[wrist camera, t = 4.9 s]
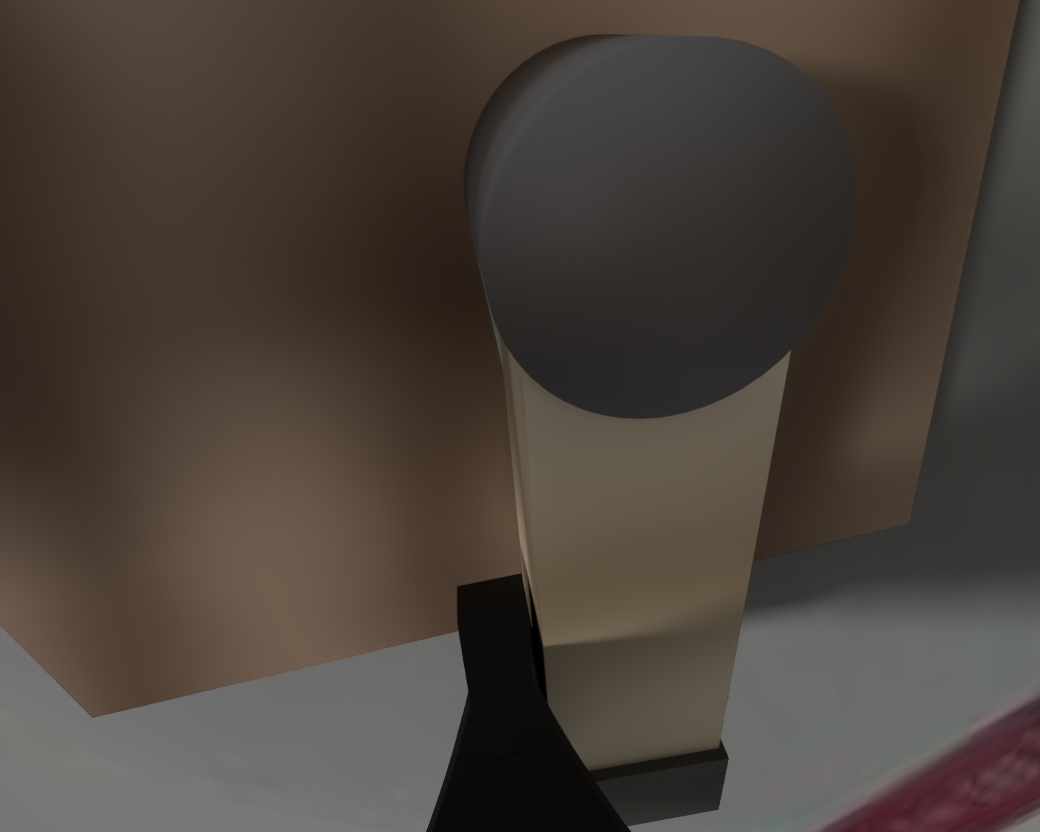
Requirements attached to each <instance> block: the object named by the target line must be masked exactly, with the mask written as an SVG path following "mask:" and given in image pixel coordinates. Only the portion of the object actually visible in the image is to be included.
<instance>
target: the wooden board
mask: <svg viewBox="0 0 1040 832" xmlns="http://www.w3.org/2000/svg"><path fill="white" fill-rule="evenodd" d="M1019 1H1020V0H0V626H1V627H2V628H3V629H4V630H5V631H6V632H7V633H8V634H9V635H10V636H11V637H12V638H13V639H14V640H15V641H16V642H17V643H18V644H19V645H20V646H21V647H22V648H23V649H24V650H25V651H26V652H27V653H28V654H29V655H30V656H31V657H32V658H33V659H34V660H35V661H36V662H37V663H38V664H39V665H40V666H41V667H42V668H43V669H44V670H45V671H46V672H47V673H48V674H49V675H50V676H51V677H52V678H53V679H54V680H55V681H56V682H57V683H58V684H59V685H60V686H61V687H62V688H63V689H64V690H65V691H66V692H67V693H68V694H69V695H70V696H71V697H72V698H73V699H74V700H75V701H76V702H77V703H78V704H79V705H80V706H81V707H82V708H83V709H84V710H85V711H86V712H87V713H88V714H89V715H90V716H91V717H92V718H94V717H98V716H103V715H107V714H111V713H115V712H119V711H124V710H128V709H132V708H136V707H140V706H145V705H149V704H153V703H157V702H161V701H166V700H170V699H174V698H178V697H183V696H187V695H191V694H195V693H199V692H204V691H208V690H212V689H216V688H220V687H225V686H229V685H233V684H237V683H241V682H246V681H250V680H254V679H258V678H262V677H267V676H271V675H275V674H279V673H283V672H288V671H292V670H296V669H300V668H304V667H309V666H313V665H317V664H321V663H325V662H330V661H334V660H338V659H342V658H346V657H351V656H355V655H359V654H363V653H367V652H372V651H376V650H380V649H384V648H389V647H393V646H397V645H401V644H405V643H410V642H414V641H418V640H422V639H426V638H431V637H435V636H439V635H443V634H447V633H452V632H456V631H458V624H457V586H460V585H465V584H470V583H475V582H480V581H485V580H490V579H495V578H500V577H505V576H510V575H515V574H520V573H522V578H523V570H522V560H521V550H520V539H519V529H518V519H517V508H516V498H515V488H514V477H513V467H512V456H511V446H510V436H509V425H508V415H507V405H506V394H505V384H504V374H503V363H502V353H501V343H500V333H499V331H498V329H497V327H496V325H495V322H494V319H493V316H492V312H491V309H490V306H489V303H488V299H487V295H486V291H485V287H484V282H483V278H482V274H481V270H480V266H479V262H478V258H477V253H476V249H475V245H474V241H473V237H472V233H471V229H470V225H469V220H468V216H467V210H466V205H465V197H464V172H465V162H466V157H467V152H468V147H469V143H470V140H471V137H472V134H473V131H474V128H475V125H476V123H477V121H478V119H479V117H480V115H481V113H482V111H483V109H484V107H485V106H486V104H487V103H488V101H489V99H490V98H491V96H492V95H493V93H494V92H495V91H496V89H497V88H498V87H499V86H500V85H501V83H502V82H503V81H504V80H505V79H506V78H507V76H509V75H510V74H511V73H512V72H513V71H514V70H515V69H516V68H517V67H519V66H520V65H521V64H522V63H523V62H525V61H526V60H528V59H529V58H531V57H532V56H533V55H535V54H536V53H538V52H540V51H542V50H544V49H546V48H548V47H550V46H552V45H554V44H556V43H559V42H562V41H565V40H568V39H571V38H574V37H580V36H586V35H592V34H625V35H668V36H712V37H721V38H727V39H733V40H740V41H744V42H747V43H750V44H753V45H756V46H759V47H762V48H765V49H767V50H769V51H771V52H773V53H775V54H776V55H778V56H780V57H782V58H784V59H786V60H787V61H789V62H791V63H792V64H793V65H794V66H796V67H797V68H798V69H799V70H801V71H802V72H803V73H804V74H806V75H807V76H808V77H809V78H810V79H811V80H812V81H813V82H814V83H815V84H816V86H817V87H818V88H819V89H820V90H821V91H822V92H823V94H824V95H825V96H826V97H827V99H828V100H829V102H830V104H831V105H832V107H833V109H834V110H835V112H836V113H837V115H838V117H839V119H840V121H841V124H842V126H843V128H844V131H845V133H846V136H847V138H848V141H849V145H850V149H851V153H852V157H853V161H854V166H855V176H856V186H857V196H856V216H855V223H854V229H853V236H852V240H851V244H850V247H849V251H848V254H847V258H846V262H845V264H844V267H843V269H842V272H841V274H840V277H839V279H838V282H837V284H836V286H835V288H834V290H833V292H832V294H831V295H830V297H829V299H828V301H827V303H826V305H825V307H824V308H823V310H822V311H821V313H820V314H819V316H818V317H817V319H816V320H815V322H814V323H813V325H812V326H811V327H810V328H809V330H808V331H807V332H806V333H805V335H804V336H803V337H802V338H801V339H800V341H799V342H798V343H797V344H796V345H795V346H794V347H793V348H792V349H791V353H790V358H789V364H788V369H787V375H786V380H785V386H784V391H783V397H782V402H781V408H780V413H779V419H778V424H777V430H776V435H775V441H774V446H773V452H772V458H771V463H770V469H769V474H768V480H767V485H766V491H765V496H764V502H763V507H762V513H761V518H760V524H759V529H758V535H757V540H756V546H755V551H754V557H753V561H754V560H758V559H763V558H767V557H771V556H775V555H779V554H784V553H788V552H792V551H796V550H800V549H805V548H809V547H813V546H817V545H822V544H826V543H830V542H834V541H838V540H843V539H847V538H851V537H855V536H859V535H864V534H868V533H872V532H876V531H880V530H885V529H889V528H893V527H897V526H901V525H906V524H909V523H910V518H911V513H912V508H913V504H914V499H915V494H916V489H917V485H918V480H919V475H920V470H921V466H922V461H923V456H924V451H925V447H926V442H927V437H928V432H929V428H930V423H931V418H932V413H933V409H934V404H935V399H936V395H937V390H938V385H939V380H940V376H941V371H942V366H943V361H944V357H945V352H946V347H947V342H948V338H949V333H950V328H951V323H952V319H953V314H954V309H955V304H956V300H957V295H958V290H959V285H960V281H961V276H962V271H963V266H964V262H965V257H966V252H967V247H968V243H969V238H970V233H971V228H972V224H973V219H974V214H975V209H976V205H977V200H978V195H979V191H980V186H981V181H982V176H983V172H984V167H985V162H986V157H987V153H988V148H989V143H990V138H991V134H992V129H993V124H994V119H995V115H996V110H997V105H998V100H999V96H1000V91H1001V86H1002V81H1003V77H1004V72H1005V67H1006V62H1007V58H1008V53H1009V48H1010V43H1011V39H1012V34H1013V29H1014V24H1015V20H1016V15H1017V10H1018V5H1019ZM523 583H524V581H523Z"/></svg>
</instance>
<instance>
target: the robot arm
mask: <svg viewBox="0 0 1040 832" xmlns="http://www.w3.org/2000/svg"><path fill="white" fill-rule="evenodd" d="M457 624H458V631H459V637H460V643H461V649H462V655H463V661H464V667H465V674H466V680H467V686H468V696H467V700H466V704H465V708H464V712H463V715H462V719H461V723H460V727H459V730H458V734H457V738H456V741H455V745H454V749H453V752H452V756H451V759H450V762H449V766H448V769H447V772H446V775H445V779H444V782H443V785H442V788H441V791H440V794H439V797H438V800H437V803H436V806H435V809H434V811H433V814H432V817H431V820H430V823H429V826H428V828H427V831H426V832H631V831H630V830H629V828H628V827H627V826H626V824H625V823H624V822H623V820H622V819H621V818H620V816H619V815H618V813H617V812H616V810H615V809H614V808H613V806H612V805H611V803H610V802H609V800H608V799H607V798H606V796H605V795H604V793H603V792H602V790H601V789H600V788H599V786H598V785H597V783H596V781H595V780H594V778H593V777H592V775H591V774H590V772H589V771H588V769H587V768H586V766H585V765H584V763H583V762H582V760H581V759H580V757H579V756H578V754H577V752H576V751H575V749H574V748H573V746H572V744H571V743H570V741H569V739H568V738H567V736H566V735H565V733H564V731H563V730H562V728H561V726H560V724H559V723H558V721H557V719H556V718H555V716H554V714H553V712H552V711H551V709H550V707H549V705H548V704H547V702H546V700H545V698H544V695H543V688H542V680H541V674H540V668H539V663H538V658H537V652H536V647H535V642H534V636H533V631H532V625H531V620H530V615H529V609H528V604H527V599H526V594H525V588H524V583H523V578H522V573H520V574H515V575H510V576H505V577H500V578H495V579H490V580H485V581H480V582H475V583H470V584H465V585H460V586H457Z"/></svg>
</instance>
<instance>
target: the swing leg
mask: <svg viewBox="0 0 1040 832" xmlns="http://www.w3.org/2000/svg"><path fill="white" fill-rule="evenodd" d="M856 196H857V186H856V176H855V166H854V161H853V157H852V153H851V149H850V145H849V141H848V138H847V136H846V133H845V131H844V128H843V126H842V124H841V121H840V119H839V117H838V115H837V113H836V112H835V110H834V109H833V107H832V105H831V104H830V102H829V100H828V99H827V97H826V96H825V95H824V94H823V92H822V91H821V90H820V89H819V88H818V87H817V86H816V84H815V83H814V82H813V81H812V80H811V79H810V78H809V77H808V76H807V75H806V74H804V73H803V72H802V71H801V70H799V69H798V68H797V67H796V66H794V65H793V64H792V63H791V62H789V61H787V60H786V59H784V58H782V57H780V56H778V55H776V54H775V53H773V52H771V51H769V50H767V49H765V48H762V47H759V46H756V45H753V44H750V43H747V42H744V41H740V40H733V39H727V38H721V37H712V36H668V35H625V34H592V35H586V36H580V37H574V38H571V39H568V40H565V41H562V42H559V43H556V44H554V45H552V46H550V47H548V48H546V49H544V50H542V51H540V52H538V53H536V54H535V55H533V56H532V57H531V58H529V59H528V60H526V61H525V62H523V63H522V64H521V65H520V66H519V67H517V68H516V69H515V70H514V71H513V72H512V73H511V74H510V75H509V76H507V78H506V79H505V80H504V81H503V82H502V83H501V85H500V86H499V87H498V88H497V89H496V91H495V92H494V93H493V95H492V96H491V98H490V99H489V101H488V103H487V104H486V106H485V107H484V109H483V111H482V113H481V115H480V117H479V119H478V121H477V123H476V125H475V128H474V131H473V134H472V137H471V140H470V143H469V147H468V152H467V157H466V162H465V172H464V197H465V205H466V210H467V216H468V220H469V225H470V229H471V233H472V237H473V241H474V245H475V249H476V253H477V258H478V262H479V266H480V270H481V274H482V278H483V282H484V287H485V291H486V295H487V299H488V303H489V306H490V309H491V312H492V316H493V319H494V322H495V325H496V327H497V329H498V331H499V333H500V343H501V353H502V363H503V374H504V384H505V394H506V405H507V415H508V425H509V436H510V446H511V456H512V467H513V477H514V488H515V498H516V508H517V519H518V529H519V539H520V550H521V560H522V570H523V581H524V588H525V594H526V599H527V604H528V609H529V615H530V620H531V625H532V631H533V636H534V642H535V647H536V652H537V658H538V663H539V668H540V674H541V680H542V688H543V695H544V698H545V700H546V702H547V704H548V705H549V707H550V709H551V711H552V712H553V714H554V716H555V718H556V719H557V721H558V723H559V724H560V726H561V728H562V730H563V731H564V733H565V735H566V736H567V738H568V739H569V741H570V743H571V744H572V746H573V748H574V749H575V751H576V752H577V754H578V756H579V757H580V759H581V760H582V762H583V763H584V765H585V766H586V768H587V769H588V771H589V772H590V774H591V775H592V777H593V778H594V780H595V781H596V783H597V785H598V786H599V788H600V789H601V790H602V792H603V793H604V795H605V796H606V798H607V799H608V800H609V802H610V803H611V805H612V806H613V808H614V809H615V810H616V812H617V813H618V815H619V816H620V818H621V819H622V820H623V822H624V823H625V824H626V826H632V825H637V824H643V823H648V822H654V821H659V820H664V819H670V818H675V817H681V816H686V815H692V814H697V813H702V812H708V811H713V810H718V809H719V804H720V799H721V794H722V789H723V784H724V779H725V774H726V769H727V764H728V759H729V758H728V755H727V753H726V751H725V748H724V746H723V743H722V741H721V739H720V738H721V733H722V727H723V722H724V716H725V711H726V705H727V700H728V694H729V689H730V683H731V678H732V672H733V667H734V661H735V656H736V650H737V645H738V639H739V634H740V628H741V623H742V617H743V612H744V606H745V601H746V595H747V590H748V584H749V579H750V573H751V568H752V562H753V557H754V551H755V546H756V540H757V535H758V529H759V524H760V518H761V513H762V507H763V502H764V496H765V491H766V485H767V480H768V474H769V469H770V463H771V458H772V452H773V446H774V441H775V435H776V430H777V424H778V419H779V413H780V408H781V402H782V397H783V391H784V386H785V380H786V375H787V369H788V364H789V358H790V353H791V349H792V348H793V347H794V346H795V345H796V344H797V343H798V342H799V341H800V339H801V338H802V337H803V336H804V335H805V333H806V332H807V331H808V330H809V328H810V327H811V326H812V325H813V323H814V322H815V320H816V319H817V317H818V316H819V314H820V313H821V311H822V310H823V308H824V307H825V305H826V303H827V301H828V299H829V297H830V295H831V294H832V292H833V290H834V288H835V286H836V284H837V282H838V279H839V277H840V274H841V272H842V269H843V267H844V264H845V262H846V258H847V254H848V251H849V247H850V244H851V240H852V236H853V229H854V223H855V216H856Z"/></svg>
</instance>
